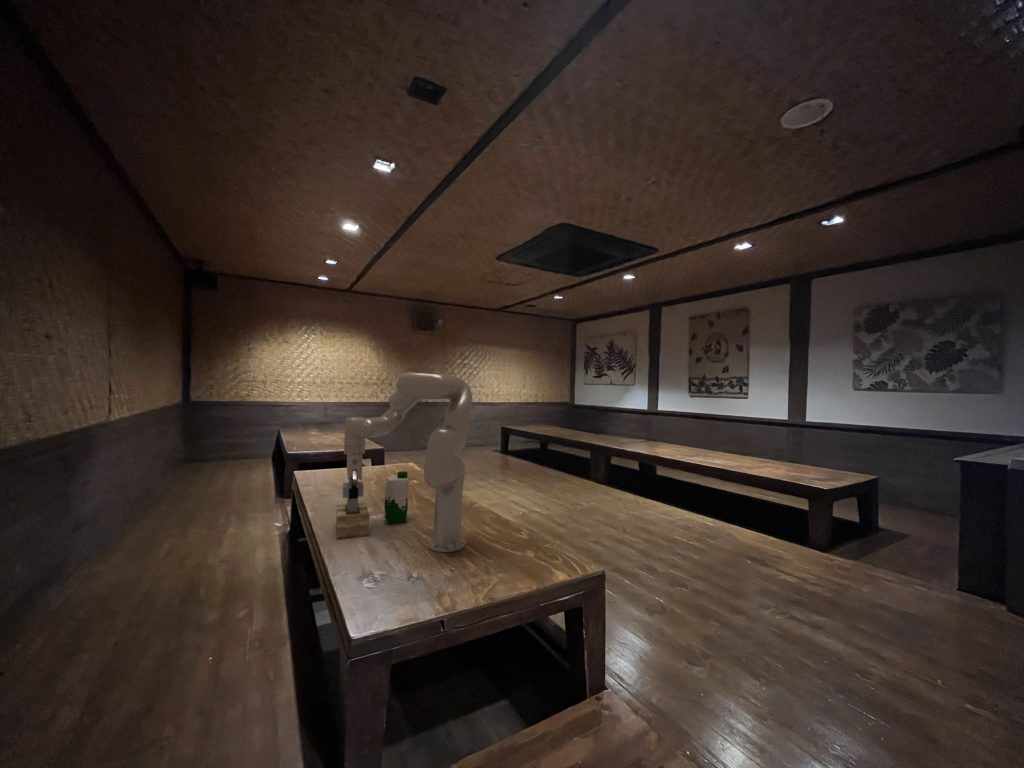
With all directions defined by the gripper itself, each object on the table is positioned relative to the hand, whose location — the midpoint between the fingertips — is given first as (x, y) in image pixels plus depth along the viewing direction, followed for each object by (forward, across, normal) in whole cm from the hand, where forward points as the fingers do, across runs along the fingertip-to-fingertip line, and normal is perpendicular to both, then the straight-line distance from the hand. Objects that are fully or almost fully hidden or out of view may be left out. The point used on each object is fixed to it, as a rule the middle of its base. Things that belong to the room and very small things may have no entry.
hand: (352, 495), depth 151 cm
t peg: (+6, 0, 0) cm, 6 cm away
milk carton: (+13, +5, -17) cm, 22 cm away
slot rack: (+13, 0, 0) cm, 13 cm away
